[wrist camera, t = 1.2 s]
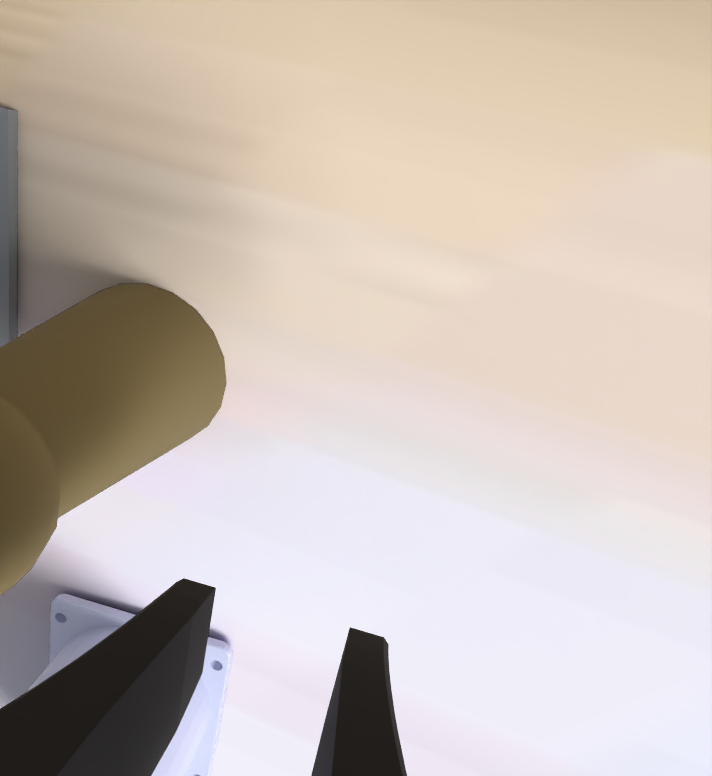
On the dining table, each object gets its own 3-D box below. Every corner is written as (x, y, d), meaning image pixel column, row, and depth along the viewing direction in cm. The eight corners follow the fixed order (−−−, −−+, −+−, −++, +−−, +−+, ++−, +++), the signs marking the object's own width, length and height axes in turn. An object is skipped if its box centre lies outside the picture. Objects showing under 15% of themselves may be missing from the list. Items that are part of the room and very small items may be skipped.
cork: (36, 328, 21) (-373, 465, 10) (167, 251, 19) (-170, 326, 9) (127, 467, 22) (-156, 709, 12) (257, 407, 20) (57, 630, 10)
